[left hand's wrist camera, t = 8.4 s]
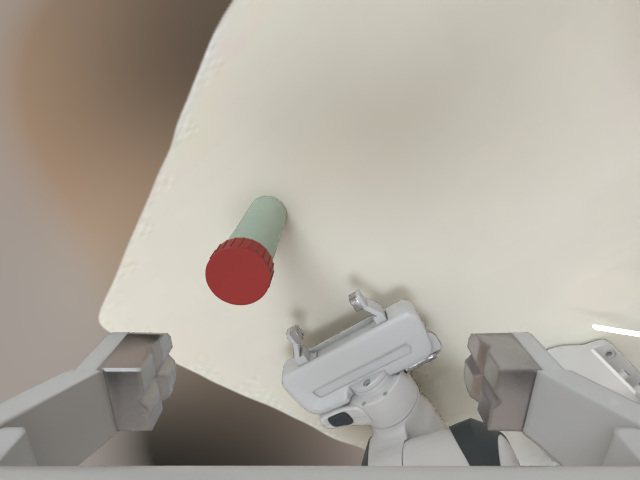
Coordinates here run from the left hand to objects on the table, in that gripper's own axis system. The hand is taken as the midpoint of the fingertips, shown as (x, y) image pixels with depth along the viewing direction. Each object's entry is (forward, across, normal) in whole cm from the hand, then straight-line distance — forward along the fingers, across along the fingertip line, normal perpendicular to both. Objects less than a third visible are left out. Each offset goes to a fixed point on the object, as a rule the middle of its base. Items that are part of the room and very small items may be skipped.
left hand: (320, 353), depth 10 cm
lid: (+22, +7, +8) cm, 24 cm away
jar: (+38, +7, +7) cm, 40 cm away
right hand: (+33, 0, +18) cm, 38 cm away
